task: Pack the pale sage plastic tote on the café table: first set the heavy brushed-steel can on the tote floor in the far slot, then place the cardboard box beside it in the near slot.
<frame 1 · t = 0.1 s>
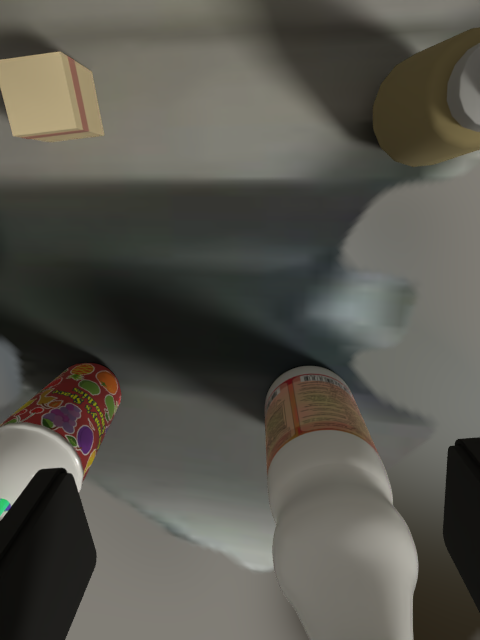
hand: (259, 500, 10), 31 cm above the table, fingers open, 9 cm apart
squeeze bottle: (407, 117, 35), on the table
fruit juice: (307, 401, 45), on the table
smoothie: (95, 384, 45), on the table
cardboard box: (70, 107, 36), on the table
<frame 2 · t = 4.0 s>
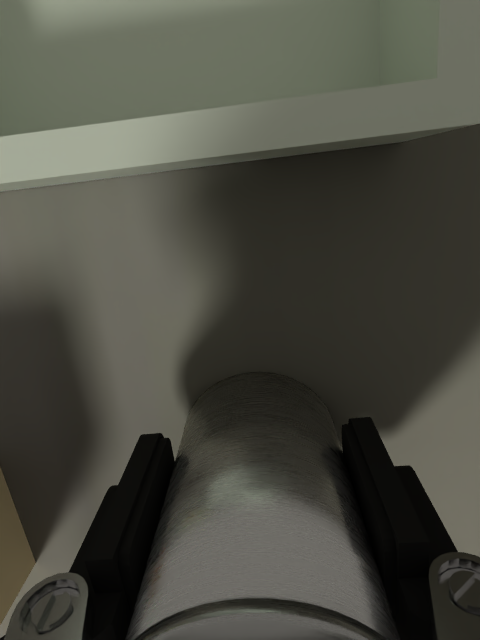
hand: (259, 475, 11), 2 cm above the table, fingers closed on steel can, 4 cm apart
steel can: (259, 439, 13), on the table, touching gripper
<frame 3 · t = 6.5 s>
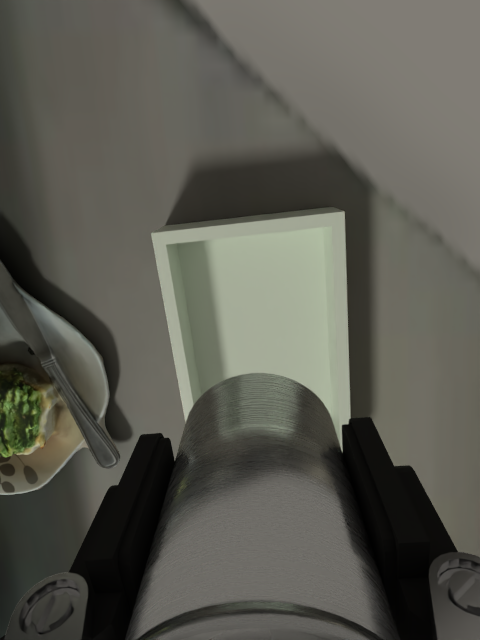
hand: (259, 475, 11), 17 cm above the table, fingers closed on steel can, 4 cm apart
steel can: (259, 440, 13), point 15 cm above the table, touching gripper
tote: (261, 349, 28), on the table
when the fingers open (4 cm above the table, at t = 9.1 s): steel can drops 2 cm, resting on tote.
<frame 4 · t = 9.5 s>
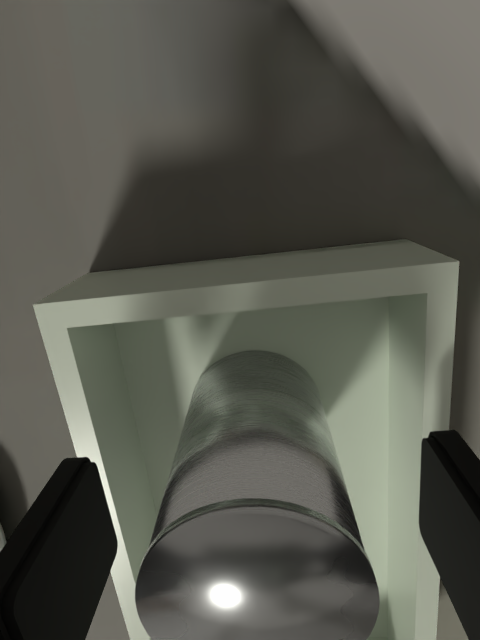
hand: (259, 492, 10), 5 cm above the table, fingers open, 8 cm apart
steel can: (255, 409, 14), point 1 cm above the table, touching tote
tote: (267, 481, 16), on the table
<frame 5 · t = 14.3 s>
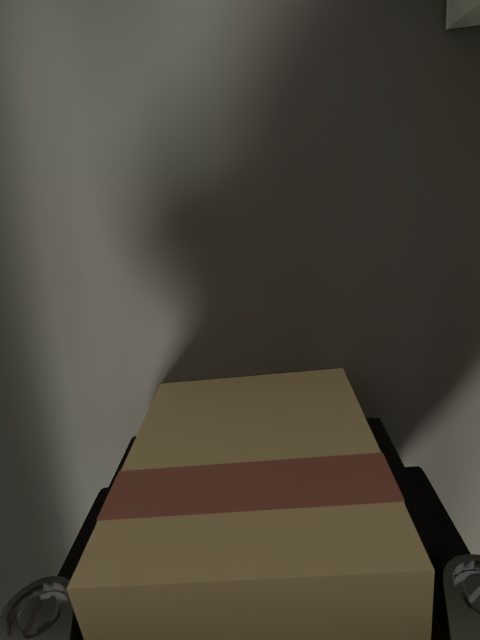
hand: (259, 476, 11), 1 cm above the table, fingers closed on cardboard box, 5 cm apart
cardboard box: (259, 452, 12), on the table, touching gripper
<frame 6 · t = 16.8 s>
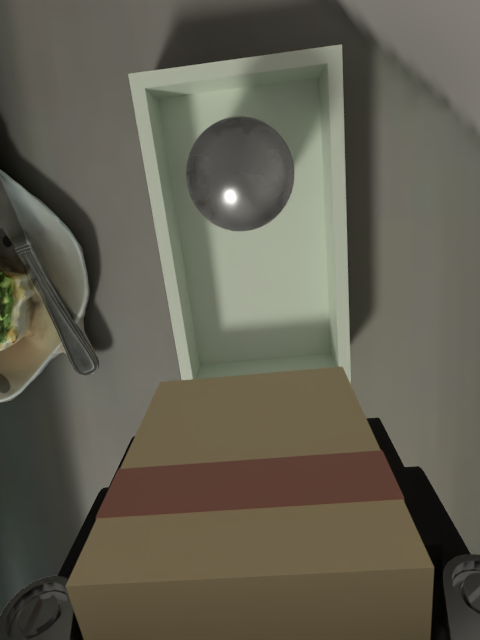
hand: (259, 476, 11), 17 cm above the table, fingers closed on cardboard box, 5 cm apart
steel can: (244, 176, 24), point 1 cm above the table, touching tote
tote: (252, 236, 26), on the table
cardboard box: (258, 450, 12), point 16 cm above the table, touching gripper
when the fingers open (4 cm above the table, at t = 19.6 s): cardboard box drops 2 cm, resting on tote.
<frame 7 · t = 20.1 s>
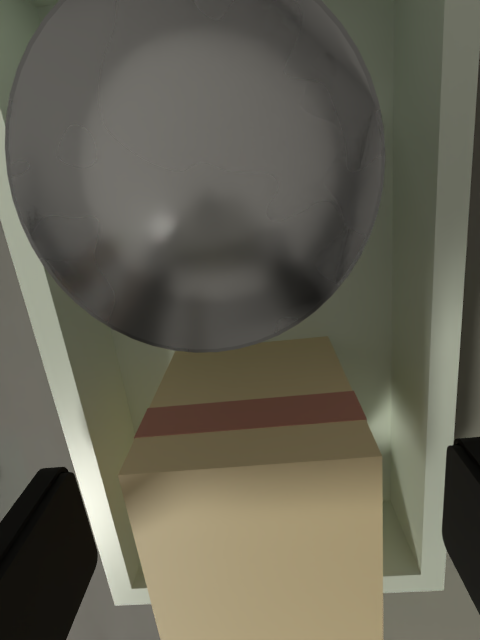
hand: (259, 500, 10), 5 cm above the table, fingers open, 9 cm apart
steel can: (228, 177, 12), point 1 cm above the table, touching tote
tote: (246, 294, 13), on the table
cardboard box: (258, 409, 14), point 1 cm above the table, touching tote
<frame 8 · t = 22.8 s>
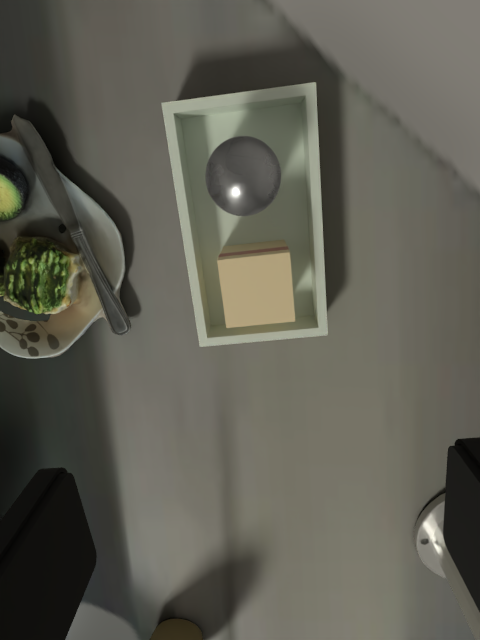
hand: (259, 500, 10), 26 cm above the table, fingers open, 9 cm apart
squeeze bottle: (179, 631, 50), on the table
salad plate: (23, 245, 36), on the table
steel can: (245, 177, 32), point 1 cm above the table, touching tote
tote: (252, 223, 34), on the table
cardboard box: (256, 272, 34), point 1 cm above the table, touching tote
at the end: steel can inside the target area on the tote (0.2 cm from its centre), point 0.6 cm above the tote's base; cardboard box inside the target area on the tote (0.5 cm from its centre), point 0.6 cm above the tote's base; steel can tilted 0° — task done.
